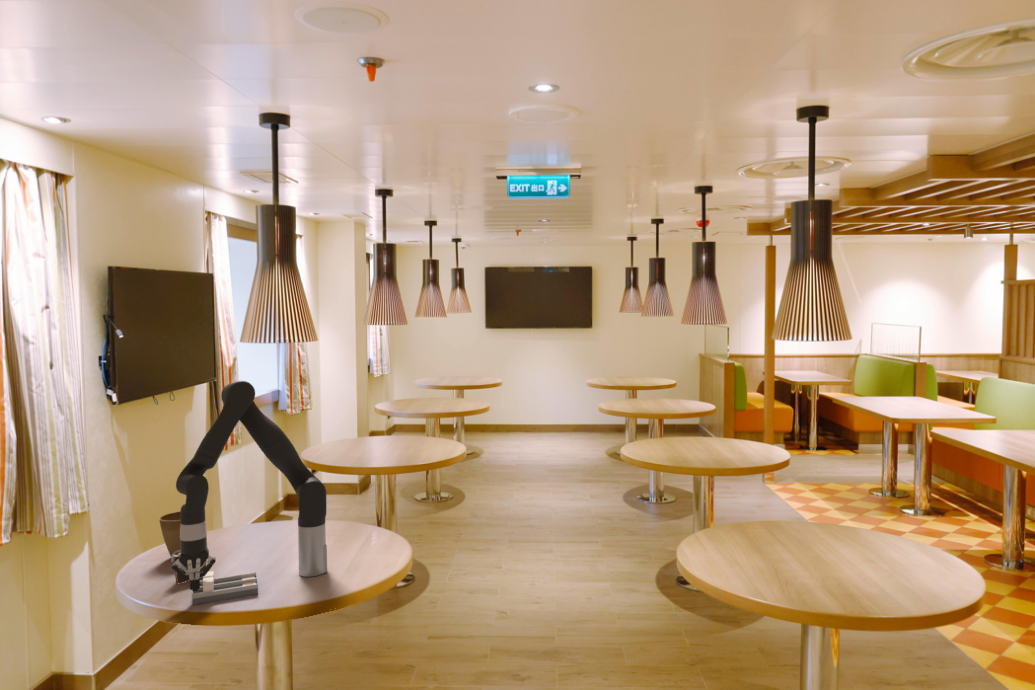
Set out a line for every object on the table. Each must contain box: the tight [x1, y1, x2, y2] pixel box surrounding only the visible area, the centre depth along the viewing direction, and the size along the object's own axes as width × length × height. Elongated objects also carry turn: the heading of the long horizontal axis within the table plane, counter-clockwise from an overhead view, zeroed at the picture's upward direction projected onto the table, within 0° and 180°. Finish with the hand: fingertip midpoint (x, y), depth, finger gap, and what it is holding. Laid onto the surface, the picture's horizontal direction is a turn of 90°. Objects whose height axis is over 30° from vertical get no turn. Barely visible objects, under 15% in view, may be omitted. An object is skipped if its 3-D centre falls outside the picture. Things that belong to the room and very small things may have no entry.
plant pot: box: [158, 510, 181, 559], centre depth 245 cm, size 15×15×16 cm
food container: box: [170, 546, 210, 585], centre depth 223 cm, size 12×6×10 cm, turn 141°
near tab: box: [202, 576, 215, 592], centre depth 205 cm, size 3×4×4 cm
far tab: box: [202, 570, 215, 579], centre depth 210 cm, size 3×4×4 cm
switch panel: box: [191, 572, 259, 605], centre depth 210 cm, size 19×12×3 cm, turn 115°
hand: (194, 590), depth 203 cm, fingers closed
